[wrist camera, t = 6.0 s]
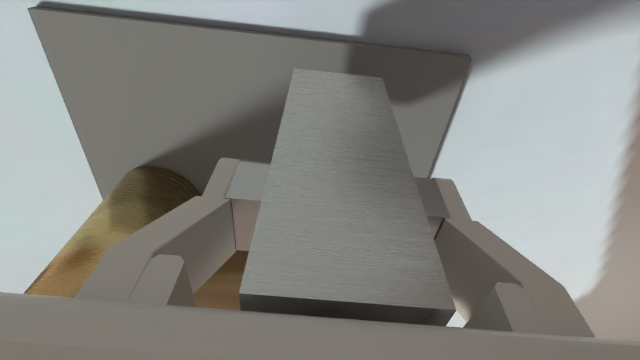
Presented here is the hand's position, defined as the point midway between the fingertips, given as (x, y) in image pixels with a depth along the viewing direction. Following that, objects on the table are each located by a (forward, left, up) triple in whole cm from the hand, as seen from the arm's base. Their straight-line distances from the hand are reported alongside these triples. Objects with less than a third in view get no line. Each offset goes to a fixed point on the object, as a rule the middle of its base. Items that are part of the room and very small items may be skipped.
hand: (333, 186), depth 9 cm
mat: (+9, -3, -7) cm, 12 cm away
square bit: (0, 0, -5) cm, 4 cm away
